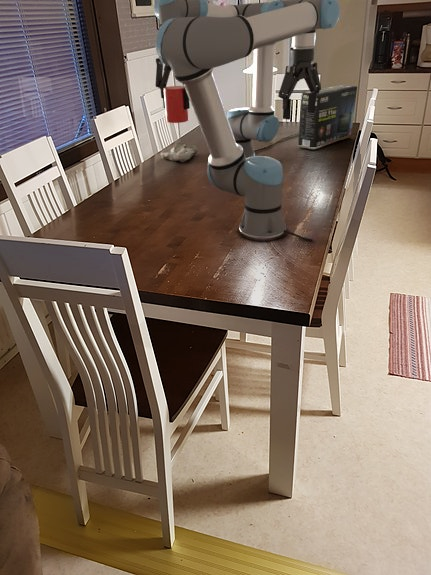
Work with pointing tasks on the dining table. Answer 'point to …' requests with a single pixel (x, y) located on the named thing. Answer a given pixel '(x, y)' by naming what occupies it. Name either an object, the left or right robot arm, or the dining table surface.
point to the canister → (175, 104)
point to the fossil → (179, 152)
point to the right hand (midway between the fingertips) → (299, 115)
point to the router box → (327, 115)
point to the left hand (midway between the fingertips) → (176, 108)
